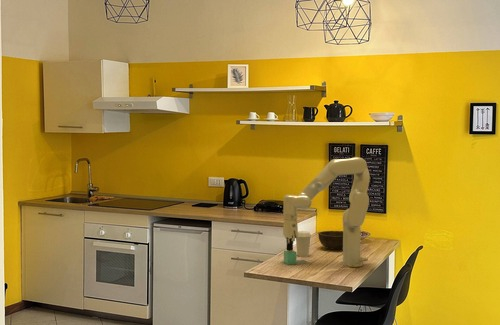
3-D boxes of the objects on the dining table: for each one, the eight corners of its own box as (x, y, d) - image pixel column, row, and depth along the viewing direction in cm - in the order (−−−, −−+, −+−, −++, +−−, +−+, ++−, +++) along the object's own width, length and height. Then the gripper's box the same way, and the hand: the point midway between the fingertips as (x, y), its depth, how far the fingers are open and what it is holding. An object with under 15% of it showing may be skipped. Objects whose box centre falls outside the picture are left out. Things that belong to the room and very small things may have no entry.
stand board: (303, 261, 333) (303, 259, 333) (311, 265, 323) (311, 263, 323) (281, 263, 328) (281, 261, 328) (288, 267, 318) (288, 265, 318)
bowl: (352, 246, 380) (352, 231, 379) (352, 253, 358) (352, 237, 358) (319, 245, 384) (319, 230, 383) (317, 251, 362) (317, 235, 362)
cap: (292, 261, 327) (292, 250, 327) (296, 263, 322) (296, 251, 322) (283, 262, 325) (283, 250, 325) (287, 264, 321) (287, 252, 320)
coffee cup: (291, 257, 345) (291, 232, 344) (301, 255, 352) (301, 230, 351) (304, 260, 338) (304, 234, 337) (314, 257, 345) (314, 232, 344)
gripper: (302, 218, 317) (301, 252, 318) (290, 215, 331) (290, 247, 332) (289, 219, 315) (289, 253, 315) (278, 215, 328) (277, 248, 329)
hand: (289, 250), depth 324 cm, fingers closed
